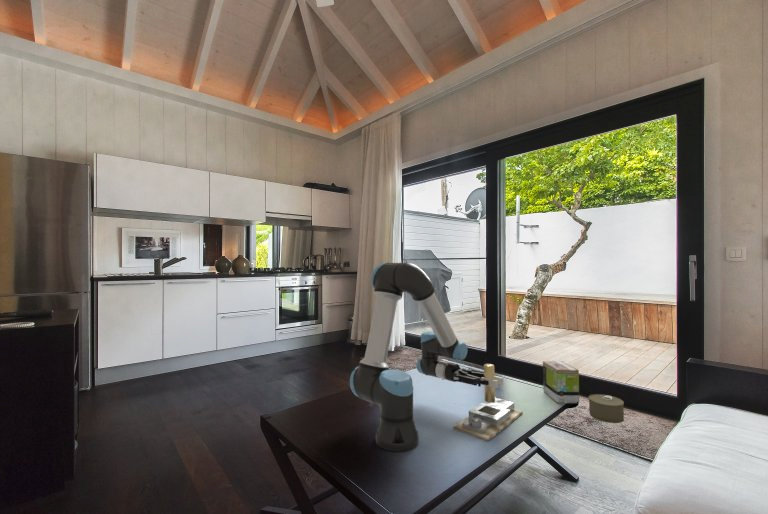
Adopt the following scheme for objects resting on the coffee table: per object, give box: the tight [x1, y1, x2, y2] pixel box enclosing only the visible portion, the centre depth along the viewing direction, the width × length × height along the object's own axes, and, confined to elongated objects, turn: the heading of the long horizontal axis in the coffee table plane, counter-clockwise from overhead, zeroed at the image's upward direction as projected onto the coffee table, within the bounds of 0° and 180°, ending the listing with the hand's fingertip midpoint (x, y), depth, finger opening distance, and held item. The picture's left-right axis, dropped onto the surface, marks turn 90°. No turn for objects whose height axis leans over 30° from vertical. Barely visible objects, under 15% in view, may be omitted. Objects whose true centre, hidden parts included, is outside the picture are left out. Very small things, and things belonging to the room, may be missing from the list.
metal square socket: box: [462, 397, 515, 434], centre depth 137 cm, size 28×12×3 cm, turn 137°
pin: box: [483, 363, 496, 403], centre depth 138 cm, size 4×4×14 cm
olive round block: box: [588, 393, 625, 424], centre depth 139 cm, size 12×12×7 cm
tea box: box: [542, 360, 580, 404], centre depth 161 cm, size 15×10×15 cm, turn 179°
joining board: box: [453, 408, 524, 442], centre depth 137 cm, size 30×14×1 cm, turn 137°
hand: (499, 382), depth 135 cm, fingers closed on pin, 4 cm apart
